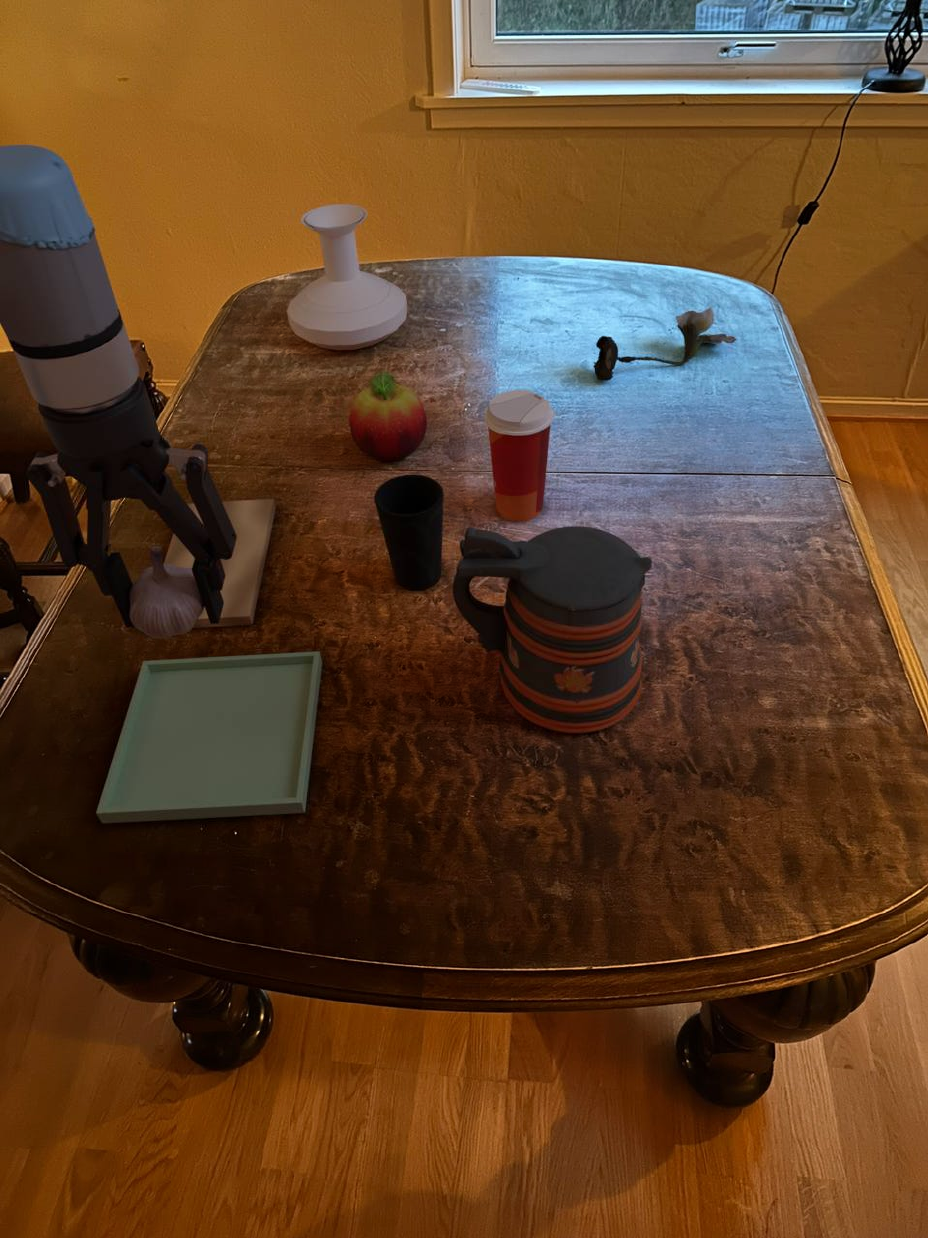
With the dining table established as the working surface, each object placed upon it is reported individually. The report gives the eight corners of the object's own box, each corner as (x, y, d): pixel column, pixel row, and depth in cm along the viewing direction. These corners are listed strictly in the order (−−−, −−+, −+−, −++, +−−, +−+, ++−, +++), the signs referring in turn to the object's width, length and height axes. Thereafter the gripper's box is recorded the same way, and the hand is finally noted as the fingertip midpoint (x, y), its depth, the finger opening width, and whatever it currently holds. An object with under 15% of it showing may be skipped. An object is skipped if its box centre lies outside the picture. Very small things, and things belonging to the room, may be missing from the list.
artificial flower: (584, 372, 140) (588, 306, 135) (713, 364, 145) (721, 300, 140) (606, 385, 132) (611, 315, 128) (741, 376, 137) (750, 309, 133)
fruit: (351, 474, 121) (340, 410, 114) (355, 430, 129) (346, 368, 122) (429, 469, 121) (423, 405, 114) (429, 426, 129) (423, 363, 122)
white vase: (290, 314, 157) (267, 201, 143) (401, 299, 159) (389, 186, 145) (295, 368, 143) (271, 249, 129) (417, 352, 145) (406, 232, 131)
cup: (378, 592, 104) (365, 511, 96) (396, 550, 109) (385, 470, 101) (441, 600, 103) (433, 519, 94) (457, 558, 108) (451, 477, 99)
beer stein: (457, 739, 88) (444, 593, 74) (460, 633, 99) (449, 488, 85) (649, 736, 87) (672, 587, 73) (632, 630, 98) (649, 482, 84)
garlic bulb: (199, 578, 84) (176, 511, 78) (232, 621, 79) (211, 553, 74) (122, 612, 81) (93, 545, 75) (152, 659, 76) (124, 591, 71)
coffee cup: (521, 480, 118) (521, 379, 108) (564, 508, 114) (568, 405, 103) (473, 506, 115) (468, 405, 104) (516, 536, 110) (515, 433, 100)
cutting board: (148, 631, 101) (144, 621, 100) (185, 512, 117) (182, 503, 116) (252, 625, 101) (249, 615, 100) (276, 507, 117) (273, 498, 116)
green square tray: (102, 823, 83) (95, 813, 82) (148, 671, 97) (143, 660, 96) (305, 813, 83) (301, 802, 82) (322, 662, 97) (319, 651, 95)
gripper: (234, 355, 66) (289, 582, 82) (-28, 368, 67) (79, 591, 83) (216, 409, 61) (279, 640, 77) (-68, 422, 61) (54, 649, 77)
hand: (175, 614), depth 80 cm, fingers closed on garlic bulb, 7 cm apart
